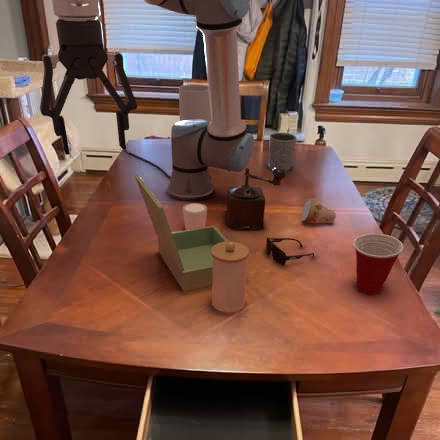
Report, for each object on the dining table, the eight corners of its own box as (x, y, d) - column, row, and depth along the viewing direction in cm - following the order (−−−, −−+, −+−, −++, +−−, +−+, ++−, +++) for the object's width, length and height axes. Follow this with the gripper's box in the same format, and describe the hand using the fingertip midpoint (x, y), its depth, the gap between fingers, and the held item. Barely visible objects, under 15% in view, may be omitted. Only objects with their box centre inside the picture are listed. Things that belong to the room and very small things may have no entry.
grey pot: (275, 161, 184) (278, 131, 177) (297, 167, 179) (301, 135, 172) (261, 168, 177) (264, 136, 170) (285, 174, 172) (288, 142, 165)
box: (213, 244, 126) (214, 225, 123) (244, 280, 111) (246, 260, 108) (158, 254, 121) (157, 234, 117) (183, 294, 106) (183, 272, 103)
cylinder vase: (177, 156, 187) (175, 90, 172) (184, 147, 197) (183, 83, 183) (207, 158, 185) (208, 92, 171) (213, 149, 195) (214, 85, 181)
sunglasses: (259, 250, 123) (262, 233, 121) (296, 248, 128) (300, 231, 125) (278, 270, 115) (282, 252, 113) (317, 266, 120) (322, 249, 118)
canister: (203, 304, 103) (203, 241, 94) (227, 291, 107) (229, 229, 98) (228, 320, 98) (231, 255, 89) (252, 305, 103) (257, 242, 94)
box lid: (137, 174, 107) (134, 175, 107) (162, 206, 92) (159, 208, 92) (158, 232, 117) (156, 233, 117) (184, 270, 102) (181, 271, 102)
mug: (339, 228, 136) (329, 203, 130) (308, 238, 140) (296, 214, 134) (337, 212, 141) (327, 187, 135) (306, 222, 145) (295, 198, 138)
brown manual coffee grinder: (228, 231, 133) (230, 170, 122) (225, 214, 142) (227, 156, 131) (281, 230, 134) (288, 170, 123) (275, 214, 143) (281, 157, 132)
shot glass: (189, 237, 129) (188, 214, 125) (179, 227, 134) (178, 205, 130) (211, 232, 132) (211, 210, 128) (200, 223, 137) (200, 201, 133)
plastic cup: (338, 275, 114) (347, 232, 107) (381, 274, 115) (392, 231, 108) (352, 301, 105) (363, 255, 98) (398, 299, 106) (411, 254, 99)
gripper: (6, 20, 71) (36, 162, 84) (149, 20, 79) (156, 149, 92) (5, 17, 77) (32, 149, 90) (138, 16, 85) (146, 139, 97)
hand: (95, 149), depth 91 cm, fingers open, 10 cm apart
